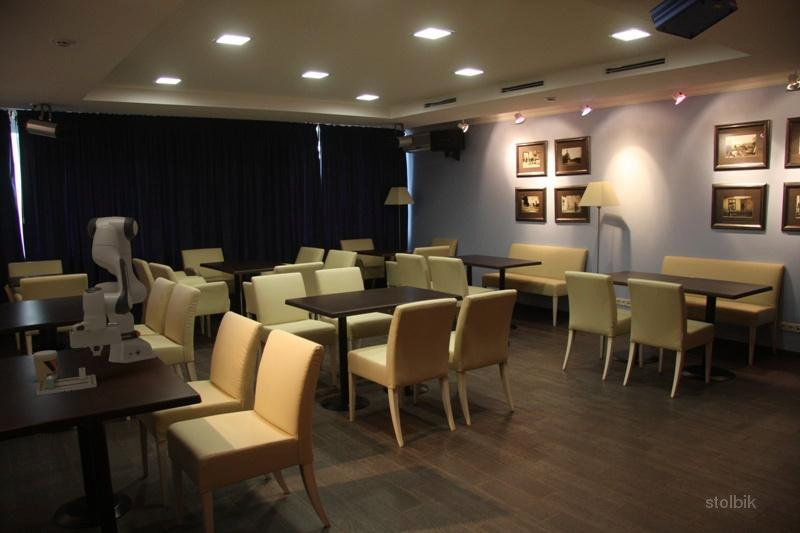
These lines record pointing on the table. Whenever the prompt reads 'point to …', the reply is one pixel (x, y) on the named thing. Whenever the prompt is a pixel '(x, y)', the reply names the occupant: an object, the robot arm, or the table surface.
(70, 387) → the console
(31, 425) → the table surface
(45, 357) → the coffee cup
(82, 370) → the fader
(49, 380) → the fader
